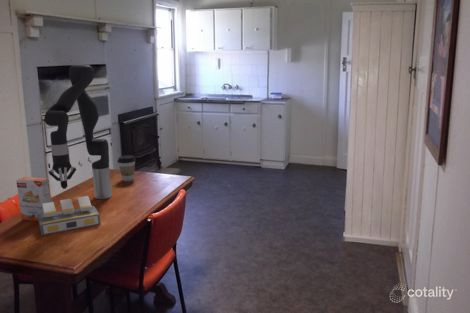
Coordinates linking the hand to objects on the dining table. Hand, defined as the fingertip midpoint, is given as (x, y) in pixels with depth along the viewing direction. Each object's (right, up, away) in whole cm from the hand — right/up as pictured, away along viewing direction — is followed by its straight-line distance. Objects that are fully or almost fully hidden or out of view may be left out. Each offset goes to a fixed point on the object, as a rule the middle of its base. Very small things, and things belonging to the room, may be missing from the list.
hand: (64, 188), depth 218 cm
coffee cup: (+14, 0, +72) cm, 74 cm away
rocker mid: (+2, -9, -1) cm, 9 cm away
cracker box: (-16, -16, +7) cm, 24 cm away
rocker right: (+9, -8, +3) cm, 12 cm away
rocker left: (-5, -10, -4) cm, 13 cm away
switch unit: (+3, -17, -1) cm, 18 cm away
